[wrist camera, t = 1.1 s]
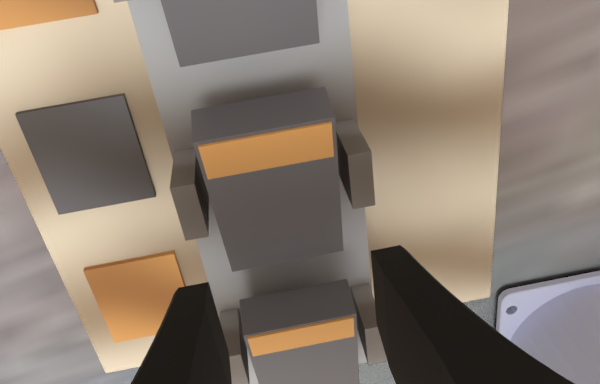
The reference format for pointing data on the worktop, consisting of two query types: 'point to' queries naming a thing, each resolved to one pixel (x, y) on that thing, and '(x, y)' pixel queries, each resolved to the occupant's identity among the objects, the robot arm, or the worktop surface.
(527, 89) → the worktop surface
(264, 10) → the rocker
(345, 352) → the block
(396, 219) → the switch panel
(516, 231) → the worktop surface
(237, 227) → the block
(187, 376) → the robot arm
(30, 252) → the worktop surface
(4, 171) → the worktop surface
